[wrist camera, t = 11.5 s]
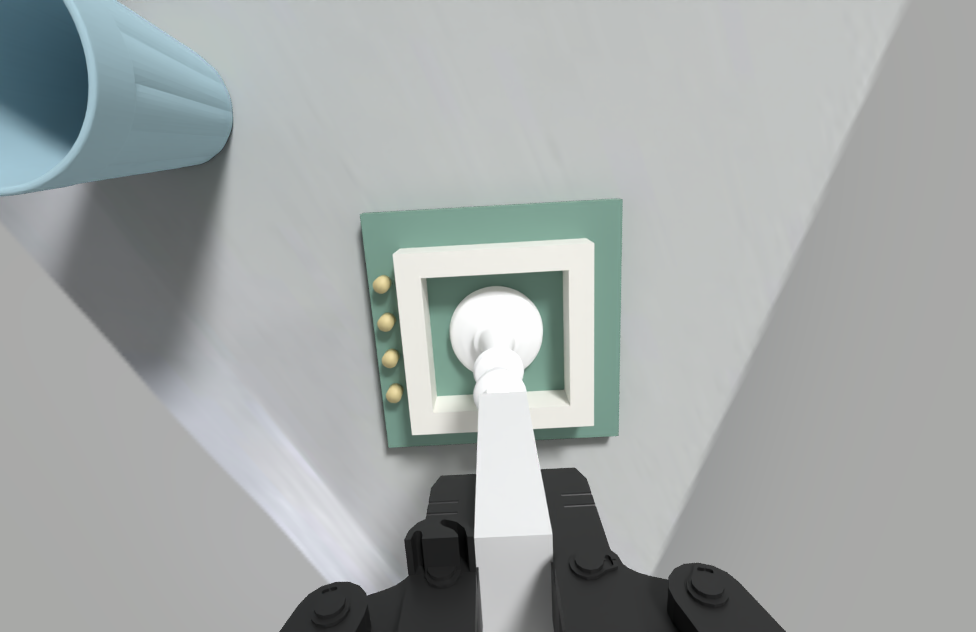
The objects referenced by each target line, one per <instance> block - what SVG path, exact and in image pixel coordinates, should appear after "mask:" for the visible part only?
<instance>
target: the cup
mask: <svg viewBox="0 0 976 632" xmlns="http://www.w3.org/2000/svg"><path fill="white" fill-rule="evenodd" d="M232 123H233V114H232V103H231V98H230V95H229V93H228V91H227V88H226V86H225V84H224V82H223V80H222V78H221V77H220V75H219V74H218V72H217V71H216V70H215V69H214V68H213V67H212V66H211V65H210V64H208V63H207V62H206V61H205V60H204V59H203V58H202V57H201V56H200V55H198V54H197V53H195V52H194V51H193V50H191V49H190V48H188V47H187V46H185V45H184V44H182V43H181V42H179V41H177V40H176V39H174V38H173V37H171V36H170V35H168V34H167V33H165V32H164V31H162V30H161V29H159V28H158V27H156V26H155V25H153V24H152V23H150V22H149V21H147V20H145V19H144V18H142V17H141V16H139V15H138V14H136V13H135V12H133V11H132V10H130V9H129V8H127V7H126V6H124V5H123V4H121V3H120V2H118V1H116V0H0V196H11V195H19V194H25V193H31V192H37V191H43V190H50V189H56V188H62V187H67V186H72V185H75V184H80V183H86V182H93V181H99V180H106V179H112V178H118V177H125V176H131V175H138V174H144V173H151V172H157V171H163V170H170V169H176V168H182V167H187V166H193V165H199V164H202V163H205V162H207V161H209V160H210V159H211V158H212V157H214V156H215V155H216V154H217V153H219V152H220V151H221V150H222V148H223V147H224V145H225V144H226V142H227V139H228V137H229V135H230V132H231V129H232Z"/></svg>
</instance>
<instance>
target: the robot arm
mask: <svg viewBox="0 0 976 632" xmlns="http://www.w3.org/2000/svg"><path fill="white" fill-rule="evenodd" d="M404 541H405V549H406V558H407V566H408V574H409V576H408V577H407V578H406V579H405V580H403V581H402V582H400V583H399V584H397V585H395V586H393V587H391V588H388V589H386V590H383V591H380V592H377V593H374V594H371V595H368V596H367V595H366V593H365V591H364V590H363V589H362V588H361V587H360V586H359V585H356V584H353V583H351V582H334V583H331V584H328V585H325V586H322V587H320V588H318V589H317V590H315V591H313V592H312V593H310V594H309V595H308V596H307V597H306V598H305V599H304V600H303V601H302V602H301V603H300V604H299V605H298V607H297V608H296V609H295V611H294V612H293V613H292V615H291V616H290V618H289V619H288V620H287V622H286V623H285V625H284V626H283V627H282V629H281V630H280V632H786V631H785V630H784V629H783V628H782V627H781V626H780V625H779V624H778V623H777V622H776V621H775V620H774V619H773V618H772V617H771V616H770V614H768V612H767V611H766V610H765V609H764V608H763V607H762V606H761V605H760V604H759V603H758V602H757V601H756V600H755V599H754V598H753V597H752V595H751V594H750V593H749V592H748V591H747V590H746V589H745V588H744V587H743V586H742V585H741V584H740V583H739V582H738V581H737V580H736V579H734V578H733V577H732V576H731V575H729V574H728V573H727V572H725V571H723V570H721V569H718V568H716V567H714V566H711V565H706V564H701V563H689V564H683V565H681V566H679V567H677V568H675V569H674V570H673V572H672V573H671V574H670V576H669V579H668V580H667V579H662V578H657V577H652V576H648V575H644V574H641V573H638V572H636V571H633V570H631V569H629V568H627V567H626V566H625V565H623V563H622V562H621V560H620V559H619V557H618V555H617V554H615V553H614V552H613V551H611V549H610V547H609V544H608V541H607V538H606V535H605V532H604V529H603V526H602V523H601V520H600V517H599V514H598V511H597V508H596V506H595V502H594V499H593V496H592V495H591V490H590V487H589V484H588V481H587V479H586V478H585V477H584V476H583V475H582V474H581V473H580V472H579V471H578V470H577V469H576V468H558V469H540V464H539V459H538V454H537V448H536V443H535V437H534V432H533V427H532V421H531V416H530V410H529V405H528V400H527V394H526V391H522V392H503V393H484V394H479V410H478V440H477V469H476V474H467V475H447V476H441V477H440V478H439V479H438V480H437V482H436V483H435V484H434V485H433V486H432V488H431V492H430V498H429V505H428V509H427V516H426V519H425V520H423V521H421V522H418V523H417V524H416V525H415V526H414V527H412V528H411V529H410V530H409V531H408V534H407V536H406V538H405V540H404Z"/></svg>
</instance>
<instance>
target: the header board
mask: <svg viewBox="0 0 976 632" xmlns="http://www.w3.org/2000/svg"><path fill="white" fill-rule="evenodd" d="M622 200H623V199H601V200H583V201H566V202H548V203H531V204H513V205H496V206H478V207H461V208H443V209H425V210H408V211H390V212H373V213H363V214H360V219H361V227H362V236H363V244H364V252H365V260H366V268H367V276H368V284H369V292H370V301H371V309H372V317H373V325H374V333H375V341H376V349H377V357H378V366H379V374H380V382H381V390H382V398H383V406H384V414H385V423H386V431H387V439H388V447H389V448H392V447H412V446H431V445H451V444H470V443H477V440H478V409H477V407H476V405H475V403H474V399H473V391H474V387H475V385H476V381H475V379H474V375H473V372H472V371H470V370H469V369H468V368H466V367H465V366H464V365H463V364H462V363H461V362H460V361H459V359H458V358H457V356H456V354H455V353H454V350H453V348H452V344H451V340H450V322H451V318H452V315H453V313H454V311H455V309H456V308H457V306H458V305H459V303H460V302H461V301H462V300H463V299H464V298H465V297H467V296H468V295H469V294H471V293H472V292H474V291H476V290H479V289H482V288H485V287H491V286H502V287H508V288H512V289H514V290H517V291H519V292H521V293H522V294H524V295H525V296H526V297H528V298H529V299H530V300H531V301H532V302H533V304H534V305H535V306H536V308H537V310H538V311H539V314H540V316H541V319H542V324H543V337H542V344H541V347H540V350H539V352H538V354H537V356H536V357H535V359H534V360H533V361H532V363H531V364H530V365H529V366H527V367H526V368H525V369H524V375H523V379H522V381H523V383H524V384H525V387H526V391H527V400H528V405H529V410H530V416H531V421H532V427H533V432H534V437H535V440H548V439H568V438H587V437H607V436H618V432H619V374H620V316H621V258H622Z"/></svg>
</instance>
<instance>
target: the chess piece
mask: <svg viewBox="0 0 976 632" xmlns="http://www.w3.org/2000/svg"><path fill="white" fill-rule="evenodd" d="M542 337H543V324H542V319H541V316H540V314H539V311H538V310H537V308H536V306H535V305H534V304H533V302H532V301H531V300H530V299H529V298H528V297H526V296H525V295H524V294H522V293H521V292H519V291H517V290H514V289H512V288H508V287H502V286H491V287H485V288H482V289H479V290H476V291H474V292H472V293H471V294H469V295H468V296H467V297H465V298H464V299H463V300H462V301H461V302H460V303H459V305H458V306H457V308H456V309H455V311H454V313H453V315H452V318H451V322H450V340H451V344H452V348H453V350H454V353H455V354H456V356H457V358H458V359H459V361H460V362H461V363H462V364H463V365H464V366H465V367H466V368H468V369H469V370H470V371H472V372H473V375H474V379H475V381H476V385H475V387H474V391H473V399H474V403H475V405H476V407H477V409H478V410H479V394H484V393H503V392H522V391H526V387H525V384H524V383H523V381H522V379H523V375H524V369H525V368H526V367H527V366H529V365H530V364H531V363H532V361H533V360H534V359H535V357H536V356H537V354H538V352H539V350H540V347H541V344H542ZM526 394H527V391H526Z"/></svg>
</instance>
